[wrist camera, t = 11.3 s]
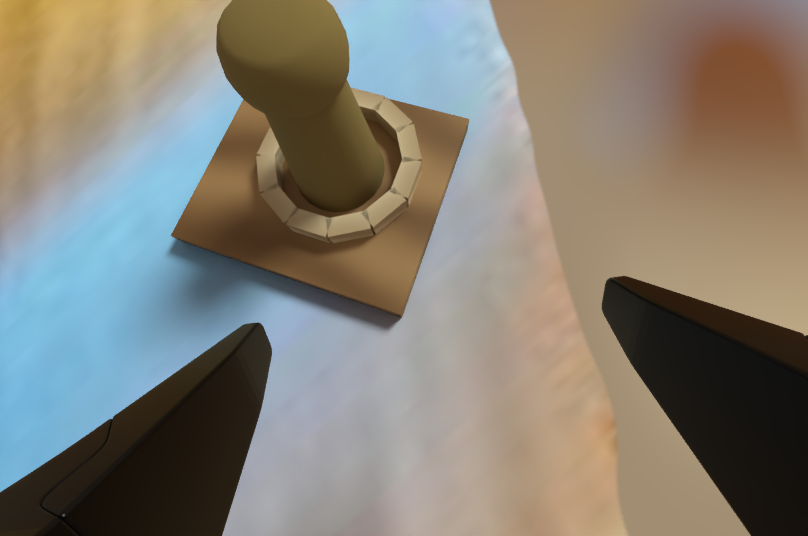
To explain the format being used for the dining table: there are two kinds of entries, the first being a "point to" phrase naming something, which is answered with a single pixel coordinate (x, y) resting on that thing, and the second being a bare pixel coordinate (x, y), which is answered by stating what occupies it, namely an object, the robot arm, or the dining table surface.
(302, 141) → the olive brown pestle
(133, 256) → the dining table surface
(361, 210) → the ring board
